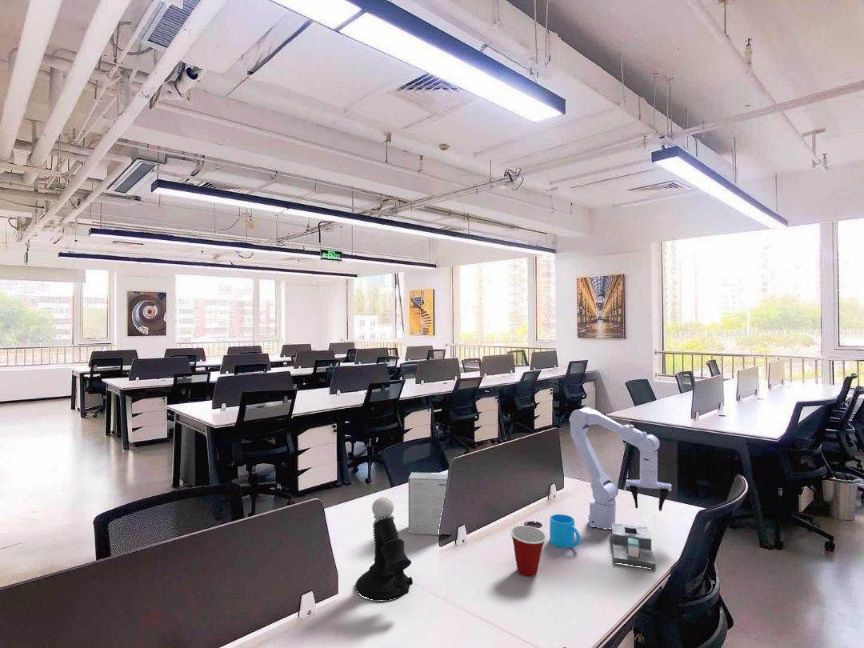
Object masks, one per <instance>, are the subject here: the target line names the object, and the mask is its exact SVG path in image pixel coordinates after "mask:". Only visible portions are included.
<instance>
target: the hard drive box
mask: <svg viewBox="0 0 864 648" xmlns="http://www.w3.org/2000/svg"><path fill="white" fill-rule="evenodd" d="M447 477H448V472H445V473H444V472H413V471H411V472H410V474H409V476H408V534H410V535H411V534H413V535H433V536H439V535H438V529H439V524H440V518H441V513H442V508H443V502H444V496H445V490H446V483H447Z"/></svg>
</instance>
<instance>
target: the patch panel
mask: <svg viewBox="0 0 864 648" xmlns="http://www.w3.org/2000/svg"><path fill="white" fill-rule="evenodd" d="M610 531H611V534H612V536H611V546H613V548H612V556H613V557H612V559H613V558H614V560H613V564H614V563H622V564H628V565H633V566H641V567H647V568H651V569H655V570H656V565H657V564H656V560H655V557H654V552H653V548H652V537H651V534H650V529H649V527H646V526H641V525H632V524H624V523H617V522H616V523H612V530H610ZM628 538H632V539H638V542H639V558H638V557H631V556H627V554H628Z"/></svg>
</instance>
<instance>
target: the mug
mask: <svg viewBox="0 0 864 648" xmlns="http://www.w3.org/2000/svg"><path fill="white" fill-rule="evenodd" d="M575 537H576V541H575ZM550 542H551V543H552V544H553V545H552V544H551V543H550ZM580 542H581V535H580V532H579V530H578V529H577V528H576V526H575V519H574V517H572V516H570V515H566V514H563V513H562V514H561V513H560V514H557V513H556V514H552V515H550V516H549V543H550V544H551V545H552V546H554V545H556V546H555V547H557V546H559V547H558V548H561V547H569V548H571V547H570V546H572V547H577V546H579V544H580Z"/></svg>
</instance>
